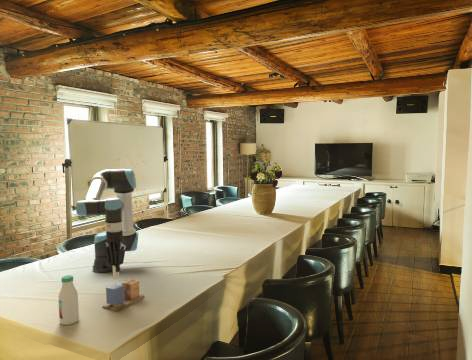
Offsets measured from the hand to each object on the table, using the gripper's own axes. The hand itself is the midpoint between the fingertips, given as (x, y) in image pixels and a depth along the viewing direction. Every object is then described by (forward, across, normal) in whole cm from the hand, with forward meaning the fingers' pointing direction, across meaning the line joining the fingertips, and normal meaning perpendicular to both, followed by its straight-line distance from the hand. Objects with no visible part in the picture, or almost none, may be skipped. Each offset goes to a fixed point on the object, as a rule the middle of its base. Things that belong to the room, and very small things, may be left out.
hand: (116, 277), depth 172 cm
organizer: (+13, +2, +2) cm, 13 cm away
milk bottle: (+13, -6, -23) cm, 27 cm away
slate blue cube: (+11, +2, -3) cm, 11 cm away
